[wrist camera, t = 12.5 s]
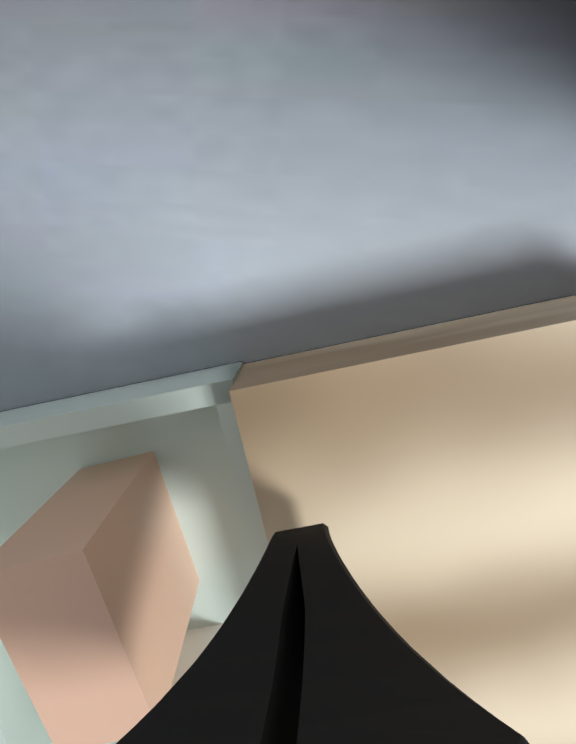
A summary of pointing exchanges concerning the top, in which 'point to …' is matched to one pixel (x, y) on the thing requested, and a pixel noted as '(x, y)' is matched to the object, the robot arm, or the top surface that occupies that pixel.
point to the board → (441, 492)
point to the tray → (179, 470)
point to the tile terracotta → (98, 600)
